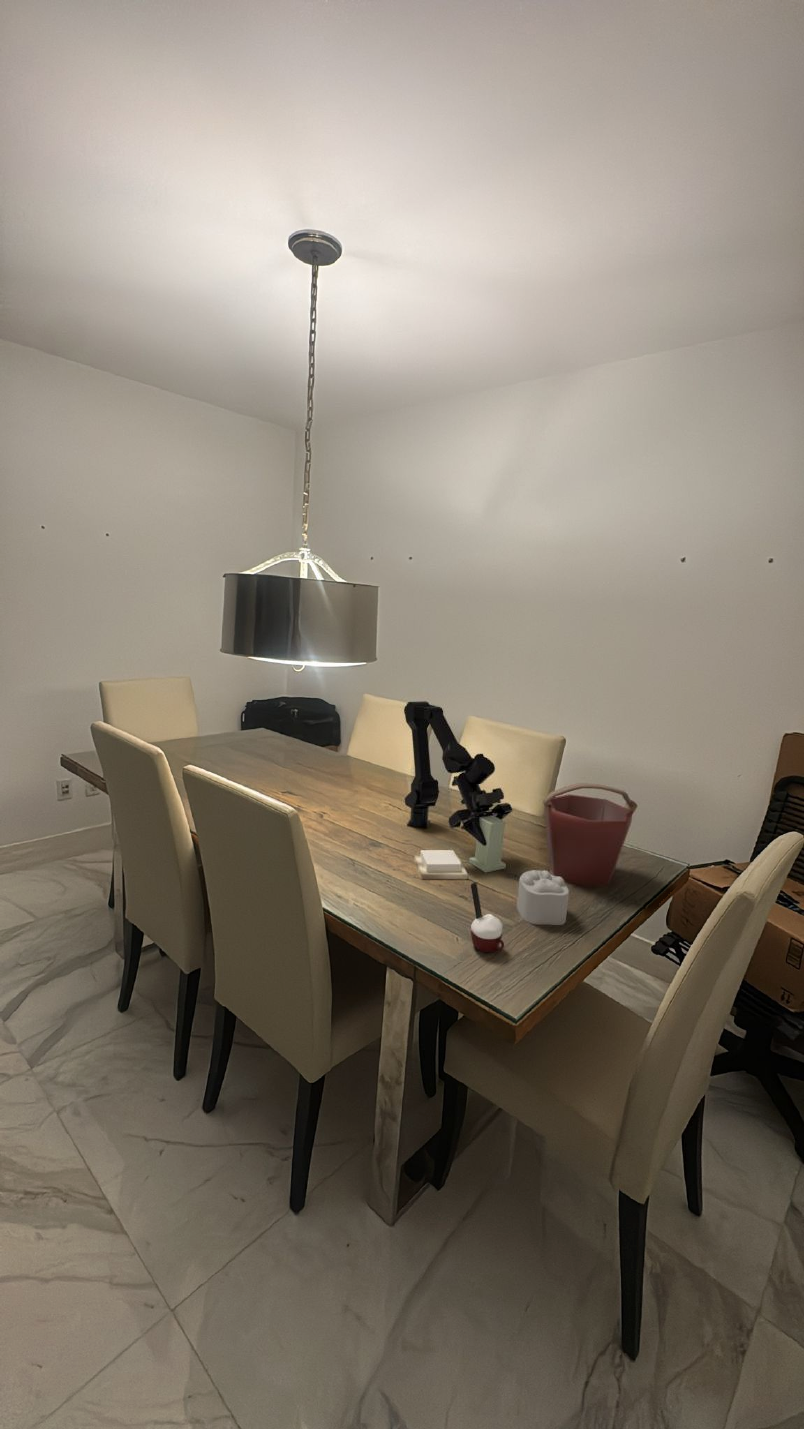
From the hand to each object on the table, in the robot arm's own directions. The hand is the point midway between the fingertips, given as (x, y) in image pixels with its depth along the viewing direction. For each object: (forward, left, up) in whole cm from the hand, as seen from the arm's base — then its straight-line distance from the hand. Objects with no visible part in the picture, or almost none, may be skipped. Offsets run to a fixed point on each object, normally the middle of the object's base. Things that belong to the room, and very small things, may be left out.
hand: (493, 843), depth 162 cm
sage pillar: (-1, -1, -7) cm, 7 cm away
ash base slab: (+6, -13, -8) cm, 16 cm away
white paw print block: (+20, +13, -7) cm, 25 cm away
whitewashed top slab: (+6, -13, -5) cm, 15 cm away
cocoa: (+40, +2, -7) cm, 41 cm away
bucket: (-5, +24, -7) cm, 26 cm away
